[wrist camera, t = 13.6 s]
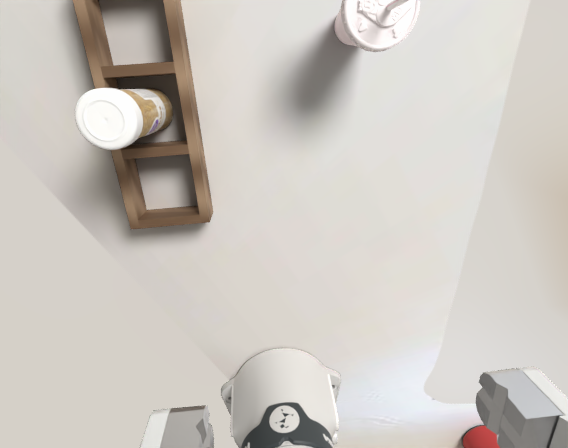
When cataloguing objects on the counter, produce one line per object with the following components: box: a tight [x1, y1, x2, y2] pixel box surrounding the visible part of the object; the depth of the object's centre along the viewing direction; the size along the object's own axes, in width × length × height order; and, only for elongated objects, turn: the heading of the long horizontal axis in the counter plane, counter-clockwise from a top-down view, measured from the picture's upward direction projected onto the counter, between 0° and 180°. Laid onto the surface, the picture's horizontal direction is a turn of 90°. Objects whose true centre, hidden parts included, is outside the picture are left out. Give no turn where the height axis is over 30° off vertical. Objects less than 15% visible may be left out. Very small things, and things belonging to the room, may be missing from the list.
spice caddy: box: [73, 0, 213, 229], centre depth 37 cm, size 25×9×4 cm, turn 4°
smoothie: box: [335, 0, 420, 52], centre depth 30 cm, size 6×6×14 cm
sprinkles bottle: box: [75, 88, 173, 150], centre depth 32 cm, size 5×5×14 cm
